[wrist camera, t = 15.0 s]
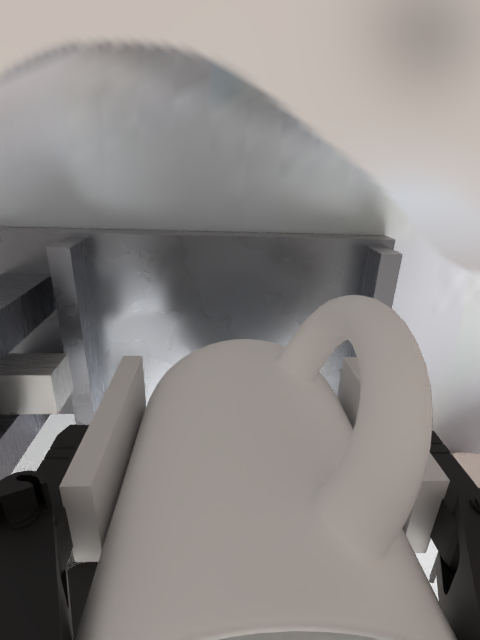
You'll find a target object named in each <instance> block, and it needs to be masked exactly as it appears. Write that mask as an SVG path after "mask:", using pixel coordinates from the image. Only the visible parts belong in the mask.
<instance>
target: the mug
mask: <svg viewBox="0 0 480 640" xmlns="http://www.w3.org/2000/svg"><path fill="white" fill-rule="evenodd" d="M346 340H349V341H350V342H351V344H352V345H353V347H354V350H355V353H356V356H357V360H358V365H359V370H360V386H361V388H360V402H359V407H358V412H357V418H356V422H355V426H354V429H353V428H352V426H351V424H350V422H349V420H348V418H347V416H346V414H345V412H344V410H343V407H342V405H341V403H340V402H339V400H338V398H337V396H336V394H335V393H334V391H333V389H332V388H331V386H330V384H329V383H328V381H327V380H326V378H325V377H324V376H323V375H322V374H321V373H320V370H321V368H322V367H323V365H324V363H325V362H326V361H327V359H328V358H329V356H330V355H331V354H332V352H333V351H334V350H335V349H336V347H337V346H338V345H340V344H341V343H343V342H344V341H346ZM432 422H433V411H432V395H431V386H430V382H429V377H428V372H427V367H426V364H425V361H424V359H423V356H422V353H421V351H420V348H419V346H418V344H417V342H416V340H415V338H414V336H413V334H412V333H411V331H410V329H409V328H408V326H407V325H406V323H405V322H404V321H403V320H402V319H401V317H400V316H399V315H398V314H397V313H396V312H395V311H394V310H392V309H391V308H389V307H388V306H387V305H385V304H383V303H382V302H380V301H379V300H377V299H374V298H370V297H366V296H361V295H346V296H342V297H338V298H335V299H332V300H329V301H328V302H326V303H325V304H323V305H321V306H320V307H319V308H318V309H317V310H315V311H314V312H313V313H312V314H311V315H310V316H309V317H308V318H307V319H306V320H305V321H304V322H303V323H302V324H301V325H300V327H299V328H298V329H297V331H296V332H295V333H294V335H293V336H292V338H291V339H290V341H289V342H288V344H287V345H286V347H285V346H282V345H279V344H276V343H272V342H267V341H262V340H253V339H234V340H227V341H221V342H218V343H214V344H210V345H207V346H205V347H202V348H200V349H197V350H195V351H194V352H192V353H190V354H188V355H186V356H185V357H183V358H182V359H181V360H179V361H178V362H177V363H175V364H174V365H173V366H172V367H171V368H170V369H169V370H168V371H167V372H166V373H165V375H164V376H163V377H162V378H161V380H160V381H159V383H158V384H157V386H156V387H155V389H154V391H153V393H152V395H151V397H150V399H149V401H148V404H147V407H146V409H145V412H144V415H143V418H142V421H141V424H140V427H139V431H138V434H137V437H136V440H135V444H134V447H133V450H132V453H131V457H130V460H129V463H128V467H127V470H126V473H125V476H124V480H123V483H122V486H121V490H120V493H119V496H118V499H117V503H116V506H115V509H114V513H113V516H112V519H111V522H110V526H109V529H108V532H107V535H106V539H105V542H104V545H103V549H102V552H101V555H100V558H99V562H98V565H97V568H96V572H95V575H94V578H93V581H92V585H91V588H90V591H89V595H88V598H87V601H86V604H85V608H84V611H83V614H82V617H81V621H80V624H79V627H78V631H77V634H76V637H75V640H457V638H456V636H455V634H454V631H453V629H452V627H451V625H450V623H449V621H448V619H447V617H446V615H445V613H444V611H443V609H442V607H441V605H440V603H439V601H438V599H437V597H436V595H435V593H434V591H433V589H432V587H431V585H430V583H429V581H428V579H427V577H426V575H425V573H424V571H423V569H422V567H421V565H420V563H419V561H418V559H417V557H416V555H415V553H414V551H413V549H412V547H411V545H410V543H409V541H408V539H407V537H406V535H405V533H404V531H403V529H402V528H403V526H404V524H405V522H406V521H407V518H408V516H409V514H410V512H411V510H412V508H413V505H414V503H415V501H416V498H417V495H418V493H419V490H420V487H421V484H422V481H423V478H424V475H425V471H426V466H427V461H428V456H429V452H430V447H431V435H432Z"/></svg>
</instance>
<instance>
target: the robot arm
mask: <svg viewBox="0 0 480 640" xmlns="http://www.w3.org/2000/svg"><path fill="white" fill-rule="evenodd" d="M360 388H361V386H360V370H359V365H358V360H357V357H343V362H342V369H341V375H340V381H339V387H338V394H337V398H338V400H339V402H340V403H341V405H342V407H343V410H344V412H345V414H346V416H347V418H348V420H349V422H350V424H351V426H352V428H353V429H354V426H355V422H356V418H357V412H358V407H359V402H360ZM145 409H146V396H145V383H144V370H143V358H142V356H123V358H122V360H121V362H120V364H119V366H118V368H117V370H116V372H115V374H114V376H113V378H112V380H111V382H110V384H109V386H108V388H107V390H106V392H105V394H104V396H103V398H102V400H101V403H100V405H99V407H98V409H97V411H96V413H95V415H94V417H93V419H92V421H91V423H90V425H69V426H68V427H67V428H66V429H65V430H63V431H62V432H61V433H60V434H59V435H57V437H56V439H55V440H54V442H53V444H52V446H51V447H50V450H49V451H48V452H47V454H46V456H45V457H44V460H43V461H42V463H41V464H40V466H39V468H38V469H37V471H22V472H17V473H14V474H12V475H9V476H7V477H4V478H3V479H1V480H0V640H74V638H73V627H72V616H71V605H70V594H69V583H68V574H67V569H66V564H67V561H68V559H69V556H70V553H71V551H73V555H74V560H75V562H99V558H100V555H101V552H102V549H103V545H104V542H105V539H106V535H107V532H108V529H109V526H110V522H111V519H112V516H113V513H114V509H115V506H116V503H117V499H118V496H119V493H120V490H121V486H122V483H123V480H124V476H125V473H126V470H127V467H128V463H129V460H130V457H131V453H132V450H133V447H134V444H135V440H136V437H137V434H138V431H139V427H140V424H141V421H142V418H143V415H144V412H145ZM402 529H403V531H404V533H405V535H406V537H407V539H408V541H409V543H410V545H411V547H412V549H413V551H414V553H426V551H427V548H428V545H429V542H430V539H432V541H433V542H434V544H435V546H436V548H437V550H438V554H437V557H436V560H435V563H434V565H433V568H432V571H431V574H430V579H429V582H431V583H434V580H435V578H436V575H437V586H438V597H439V603H440V605H441V607H442V609H443V611H444V613H445V615H446V617H447V619H448V621H449V623H450V625H451V627H452V629H453V631H454V634H455V636H456V638H457V640H480V488H478V487H477V485H476V484H475V483H474V481H473V480H472V479H471V478H470V476H469V475H468V474H467V473H466V471H465V470H464V469H463V468H462V466H461V465H460V464H459V463H458V461H457V460H456V459H455V457H454V456H453V455H452V454H450V451H449V450H448V449H447V447H446V446H445V445H443V442H442V441H441V440H440V439H439V437H438V436H437V435H436V433H435V432H434V431H433V430H432V435H431V447H430V452H429V456H428V461H427V466H426V471H425V475H424V478H423V481H422V484H421V487H420V490H419V493H418V495H417V498H416V501H415V503H414V505H413V508H412V510H411V512H410V514H409V516H408V518H407V521H406V522H405V524H404V526H403V528H402Z"/></svg>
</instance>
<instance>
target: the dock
mask: <svg viewBox="0 0 480 640" xmlns="http://www.w3.org/2000/svg"><path fill="white" fill-rule="evenodd" d="M394 244H395V239H392V238H390V237H388V236H384V235H340V234H297V233H254V232H211V231H168V230H125V229H82V228H38V227H0V360H1V359H3V358H4V357H5V356H6V355H7V354H8V353H68V358H69V364H70V370H71V376H72V382H73V388H74V389H73V391H72V393H71V394H70V396H69V397H68V399H67V400H66V402H65V404H64V405H63V407H62V408H61V410H60V411H59V413H58V414H74V415H75V421H76V425H90V423H91V421H92V419H93V417H94V415H95V413H96V411H97V409H98V407H99V405H100V403H101V400H102V398H103V396H104V394H105V392H106V390H107V388H108V386H109V384H110V382H111V380H112V378H113V376H114V374H115V372H116V370H117V368H118V366H119V364H120V362H121V360H122V358H123V356H142V358H143V370H144V383H145V396H146V407H147V404H148V401H149V399H150V397H151V395H152V393H153V391H154V389H155V387H156V386H157V384H158V383H159V381H160V380H161V378H162V377H163V376H164V375H165V373H166V372H167V371H168V370H169V369H170V368H171V367H172V366H173V365H174V364H175V363H177V362H178V361H179V360H181V359H182V358H183V357H185V356H186V355H188V354H190V353H192V352H194V351H195V350H197V349H200V348H202V347H205V346H207V345H210V344H214V343H218V342H221V341H227V340H234V339H253V340H262V341H267V342H272V343H276V344H279V345H282V346H285V347H286V345H287V344H288V342H289V341H290V339H291V338H292V336H293V335H294V333H295V332H296V331H297V329H298V328H299V327H300V325H301V324H302V323H303V322H304V321H305V320H306V319H307V318H308V317H309V316H310V315H311V314H312V313H313V312H314V311H315V310H317V309H318V308H319V307H320V306H321V305H323V304H325V303H326V302H328V301H329V300H332V299H335V298H338V297H342V296H346V295H361V296H366V297H370V298H374V299H377V300H379V301H380V302H382V303H383V304H385V305H387V306H388V307H389V308H392V303H393V298H394V293H395V289H396V284H397V279H398V274H399V269H400V264H401V259H402V254H401V253H399V252H397V251H395V250H393V249H394ZM343 357H357V356H356V353H355V350H354V347H353V345H352V344H351V342H350V341H349V340H346V341H344V342H343V343H341V344H340V345H338V346H337V347H336V349H335V350H334V351H333V352H332V354H331V355H330V356H329V358H328V359H327V361H326V362H325V363H324V365H323V367H322V368H321V370H320V373H321V374H322V375H323V376H324V377H325V378H326V380H327V381H328V383H329V384H330V386H331V388H332V389H333V391H334V393H335V394H336V396H337V394H338V387H339V381H340V375H341V369H342V362H343ZM49 415H50V414H0V480H1V479H3V478H4V477H7V476H9V475H10V474H11V473H12V471H13V470H14V468H15V467H16V465H17V464H18V462H19V461H20V459H21V458H22V456H23V455H24V453H25V451H26V450H27V448H28V447H29V445H30V444H31V442H32V441H33V439H34V438H35V436H36V435H37V433H38V432H39V430H40V429H41V427H42V426H43V424H44V423H45V421H46V420H47V418H48V417H49Z"/></svg>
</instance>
